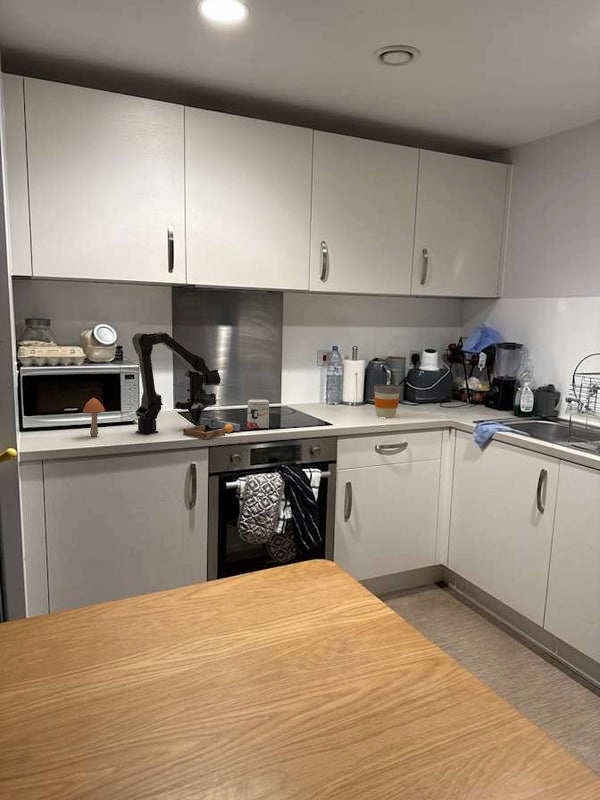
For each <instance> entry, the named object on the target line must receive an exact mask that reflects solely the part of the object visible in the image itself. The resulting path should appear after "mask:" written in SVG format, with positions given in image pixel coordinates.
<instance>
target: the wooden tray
mask: <svg viewBox="0 0 600 800" xmlns="http://www.w3.org/2000/svg"><path fill="white" fill-rule="evenodd" d="M225 435H226V431H225V429H223V428H218V429H215V430H212V431H211V430H210V431H207V432H206V425H202V424H200V425H196V426H195V425H194V426H192V427H187V428H183V436H185V437H186V436H187V437H189V438H190V437H192V438H195V439H200V440H210V439H213V438H218V437H223V436H225Z"/></svg>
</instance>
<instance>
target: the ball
mask: <svg viewBox="0 0 600 800" xmlns="http://www.w3.org/2000/svg"><path fill="white" fill-rule="evenodd" d="M224 429H225V433H229V434H230V433H232V432H233V426H232V425H231V424H227V425H225V427H224Z"/></svg>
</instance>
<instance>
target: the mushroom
mask: <svg viewBox="0 0 600 800" xmlns="http://www.w3.org/2000/svg"><path fill="white" fill-rule="evenodd" d="M105 411H106V409H105V407H104V406H103V404H102V403H101V401H100V400H98V399H97V398H95V397H92V398H91V399H89V400H88V401H87V402H86V404H85V406H84V407H83V410H82V412H83V413H84V414H91V425H90V430H89V431H90V432H89V434H90V437H92V436H96V437H98V436H99V428H98V414H101V413H104V412H105ZM97 435H98V436H97Z"/></svg>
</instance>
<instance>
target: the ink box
mask: <svg viewBox="0 0 600 800" xmlns="http://www.w3.org/2000/svg"><path fill="white" fill-rule="evenodd" d="M269 423H270V401H269V400H267V399H248V400H247V421H246V424H247V425H246V426H247V428H248V429H249V430H255V429H254V428H268V429H270V424H269Z"/></svg>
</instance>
